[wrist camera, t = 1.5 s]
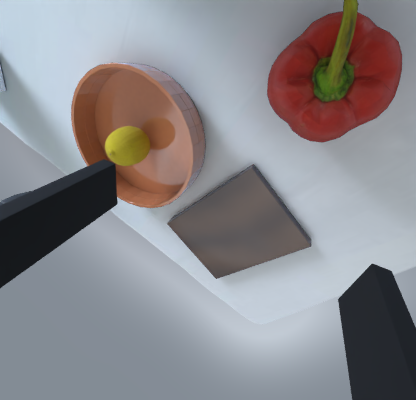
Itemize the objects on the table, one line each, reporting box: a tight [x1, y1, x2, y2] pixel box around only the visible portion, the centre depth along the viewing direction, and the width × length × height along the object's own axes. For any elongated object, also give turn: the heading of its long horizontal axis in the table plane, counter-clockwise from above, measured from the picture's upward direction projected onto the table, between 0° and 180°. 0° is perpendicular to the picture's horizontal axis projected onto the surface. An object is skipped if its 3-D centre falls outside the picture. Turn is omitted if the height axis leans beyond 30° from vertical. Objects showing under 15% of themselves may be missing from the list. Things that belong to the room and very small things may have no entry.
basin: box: [71, 63, 205, 208], centre depth 35 cm, size 21×21×4 cm
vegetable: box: [267, 0, 402, 142], centre depth 20 cm, size 11×10×10 cm
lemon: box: [105, 126, 150, 166], centre depth 33 cm, size 6×6×8 cm
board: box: [167, 164, 311, 279], centre depth 38 cm, size 15×20×2 cm
